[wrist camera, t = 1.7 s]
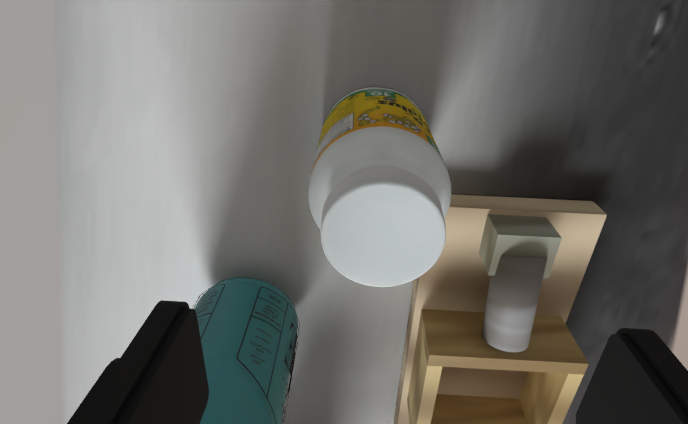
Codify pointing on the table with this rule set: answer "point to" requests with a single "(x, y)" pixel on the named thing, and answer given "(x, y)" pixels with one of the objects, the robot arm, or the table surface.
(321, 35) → the table surface
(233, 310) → the beverage bottle
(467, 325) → the coupler stand
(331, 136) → the supplement bottle
